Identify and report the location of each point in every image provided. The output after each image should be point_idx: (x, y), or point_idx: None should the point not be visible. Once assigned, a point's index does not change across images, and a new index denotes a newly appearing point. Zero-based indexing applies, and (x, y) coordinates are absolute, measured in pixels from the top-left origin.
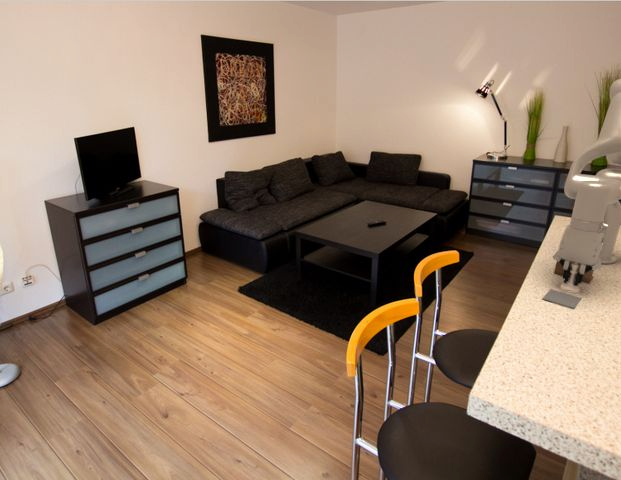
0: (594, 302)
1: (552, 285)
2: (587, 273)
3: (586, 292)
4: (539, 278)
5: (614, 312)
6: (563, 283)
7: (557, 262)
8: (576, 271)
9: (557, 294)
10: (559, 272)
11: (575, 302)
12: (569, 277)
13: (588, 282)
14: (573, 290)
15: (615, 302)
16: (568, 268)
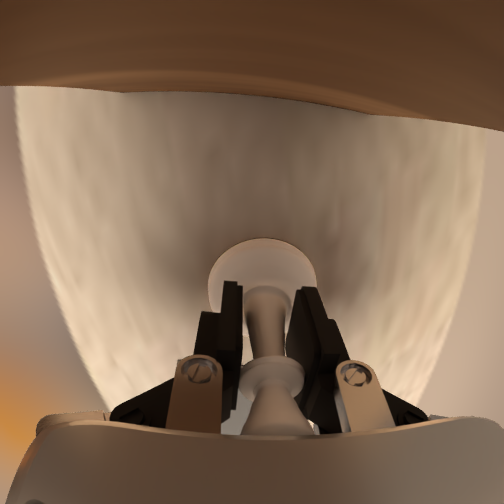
0: (375, 360)
1: (165, 297)
2: (374, 107)
3: (352, 276)
4: (76, 240)
5: (424, 384)
6: (216, 280)
7: (76, 86)
8: (291, 384)
9: None
10: (147, 90)
11: None
12: (232, 92)
13: (366, 113)
14: (285, 332)
15: (456, 303)
16: (222, 417)
